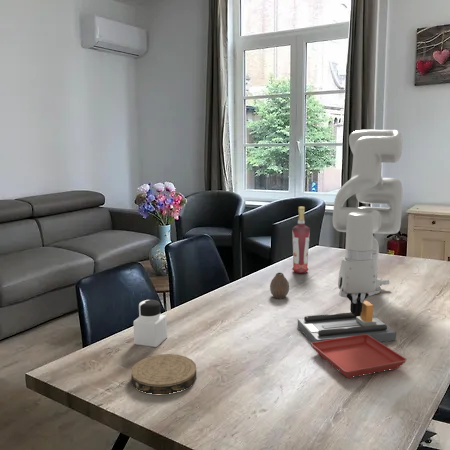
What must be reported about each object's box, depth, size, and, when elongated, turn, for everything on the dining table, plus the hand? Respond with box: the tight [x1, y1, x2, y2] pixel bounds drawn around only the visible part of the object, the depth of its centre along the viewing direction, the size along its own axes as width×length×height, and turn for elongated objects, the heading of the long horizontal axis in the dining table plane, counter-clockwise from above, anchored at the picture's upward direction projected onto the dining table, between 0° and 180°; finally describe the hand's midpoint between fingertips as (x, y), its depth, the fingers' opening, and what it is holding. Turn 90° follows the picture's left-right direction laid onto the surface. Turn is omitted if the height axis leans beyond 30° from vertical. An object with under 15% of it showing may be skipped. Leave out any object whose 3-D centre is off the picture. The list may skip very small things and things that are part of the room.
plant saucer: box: [310, 334, 407, 378], centre depth 132 cm, size 18×18×3 cm
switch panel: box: [297, 311, 397, 343], centre depth 150 cm, size 24×16×4 cm, turn 101°
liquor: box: [291, 206, 311, 275], centre depth 211 cm, size 7×7×28 cm
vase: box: [269, 272, 290, 299], centre depth 182 cm, size 7×7×9 cm
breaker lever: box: [356, 300, 376, 326], centre depth 150 cm, size 4×5×6 cm
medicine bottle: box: [132, 299, 168, 348], centre depth 145 cm, size 7×7×12 cm
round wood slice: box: [130, 353, 198, 394], centre depth 124 cm, size 16×16×3 cm
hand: (355, 314), depth 150 cm, fingers closed
